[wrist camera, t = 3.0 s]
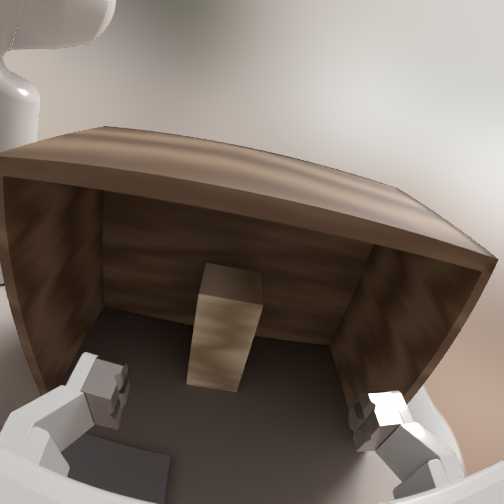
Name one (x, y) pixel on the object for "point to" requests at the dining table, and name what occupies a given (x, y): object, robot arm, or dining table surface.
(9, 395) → the dining table surface
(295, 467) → the dining table surface
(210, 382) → the block
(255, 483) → the dining table surface
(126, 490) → the mat
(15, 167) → the wooden bench shelf
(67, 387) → the robot arm
